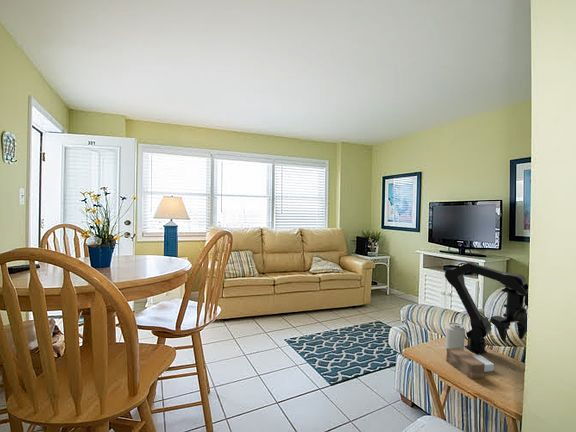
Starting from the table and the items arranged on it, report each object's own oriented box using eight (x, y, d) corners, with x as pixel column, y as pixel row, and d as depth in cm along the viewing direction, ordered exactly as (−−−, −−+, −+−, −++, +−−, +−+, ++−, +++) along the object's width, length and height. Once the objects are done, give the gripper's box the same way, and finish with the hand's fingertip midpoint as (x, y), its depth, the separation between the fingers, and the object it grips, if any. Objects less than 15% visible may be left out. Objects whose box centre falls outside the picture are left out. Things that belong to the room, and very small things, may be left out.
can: (455, 355, 136) (457, 329, 135) (441, 347, 143) (443, 322, 142) (467, 352, 139) (469, 326, 138) (452, 344, 146) (454, 320, 145)
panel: (455, 364, 129) (455, 357, 129) (479, 361, 131) (479, 354, 131) (468, 373, 122) (468, 366, 122) (493, 371, 124) (493, 363, 124)
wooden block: (446, 361, 131) (447, 348, 130) (457, 359, 132) (458, 347, 132) (471, 379, 118) (472, 365, 118) (483, 377, 120) (484, 363, 119)
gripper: (515, 312, 119) (512, 351, 120) (552, 309, 123) (549, 346, 124) (490, 302, 130) (488, 338, 131) (524, 300, 134) (522, 334, 135)
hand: (512, 339), depth 130 cm, fingers open, 9 cm apart
